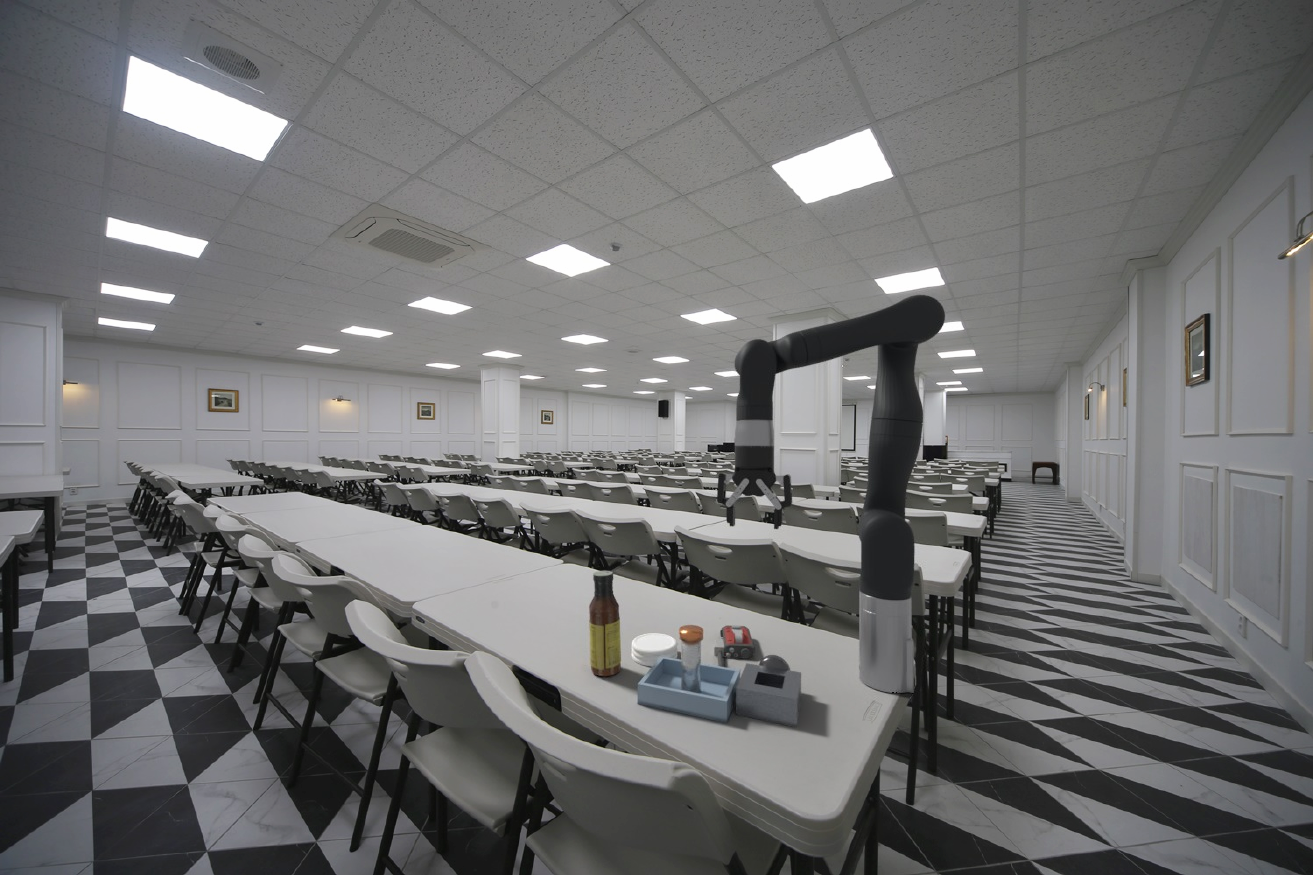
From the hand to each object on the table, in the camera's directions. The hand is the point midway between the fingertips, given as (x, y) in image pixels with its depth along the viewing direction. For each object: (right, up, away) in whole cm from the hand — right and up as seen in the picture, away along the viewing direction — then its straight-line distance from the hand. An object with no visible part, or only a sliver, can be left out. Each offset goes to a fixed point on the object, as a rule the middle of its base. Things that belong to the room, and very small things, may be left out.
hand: (753, 527), depth 92 cm
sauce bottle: (-29, -30, +4) cm, 42 cm away
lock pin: (-13, -29, -6) cm, 32 cm away
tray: (-13, -30, -6) cm, 33 cm away
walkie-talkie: (-2, -31, +13) cm, 34 cm away
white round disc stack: (-19, -31, +11) cm, 38 cm away
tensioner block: (+1, -30, -8) cm, 31 cm away
